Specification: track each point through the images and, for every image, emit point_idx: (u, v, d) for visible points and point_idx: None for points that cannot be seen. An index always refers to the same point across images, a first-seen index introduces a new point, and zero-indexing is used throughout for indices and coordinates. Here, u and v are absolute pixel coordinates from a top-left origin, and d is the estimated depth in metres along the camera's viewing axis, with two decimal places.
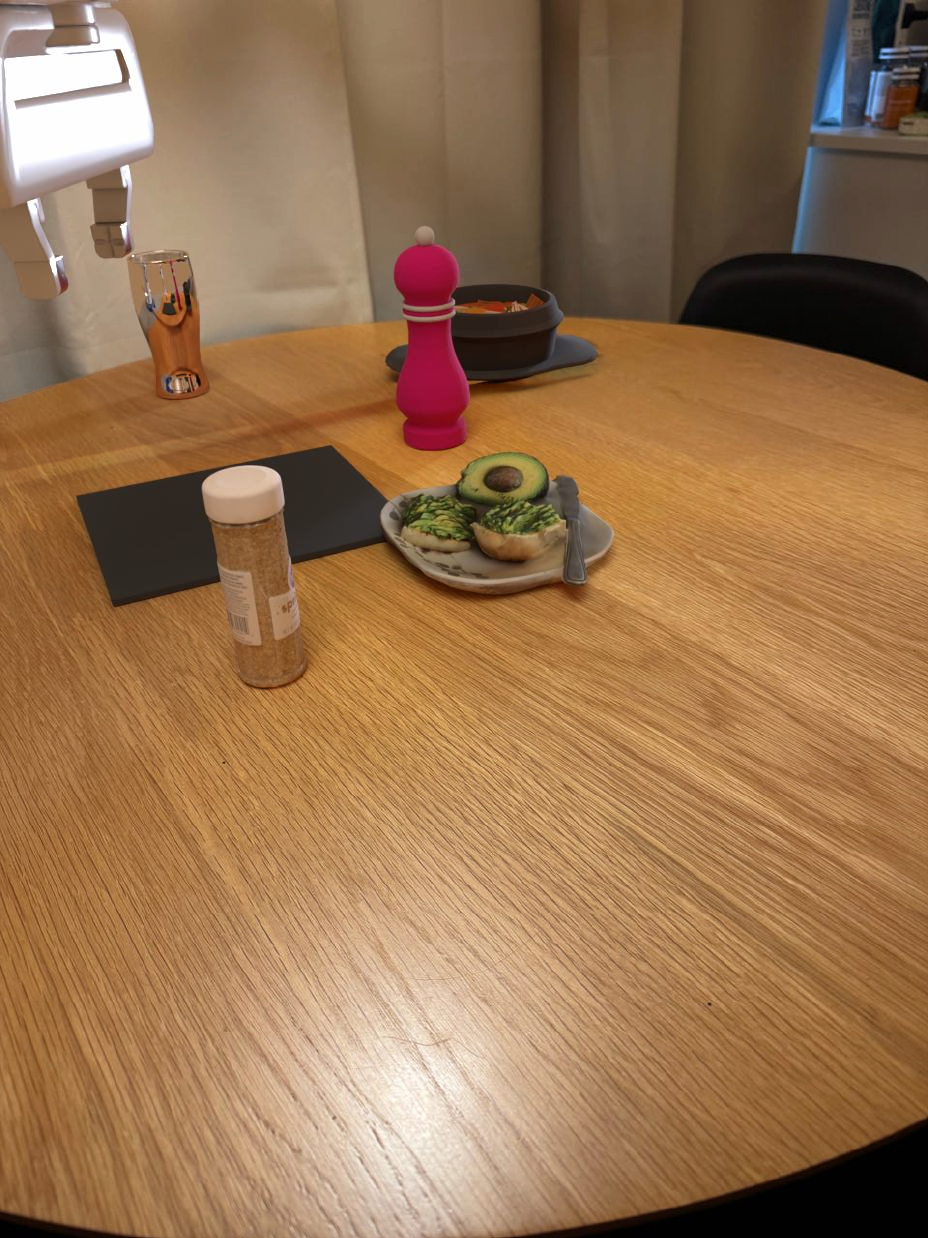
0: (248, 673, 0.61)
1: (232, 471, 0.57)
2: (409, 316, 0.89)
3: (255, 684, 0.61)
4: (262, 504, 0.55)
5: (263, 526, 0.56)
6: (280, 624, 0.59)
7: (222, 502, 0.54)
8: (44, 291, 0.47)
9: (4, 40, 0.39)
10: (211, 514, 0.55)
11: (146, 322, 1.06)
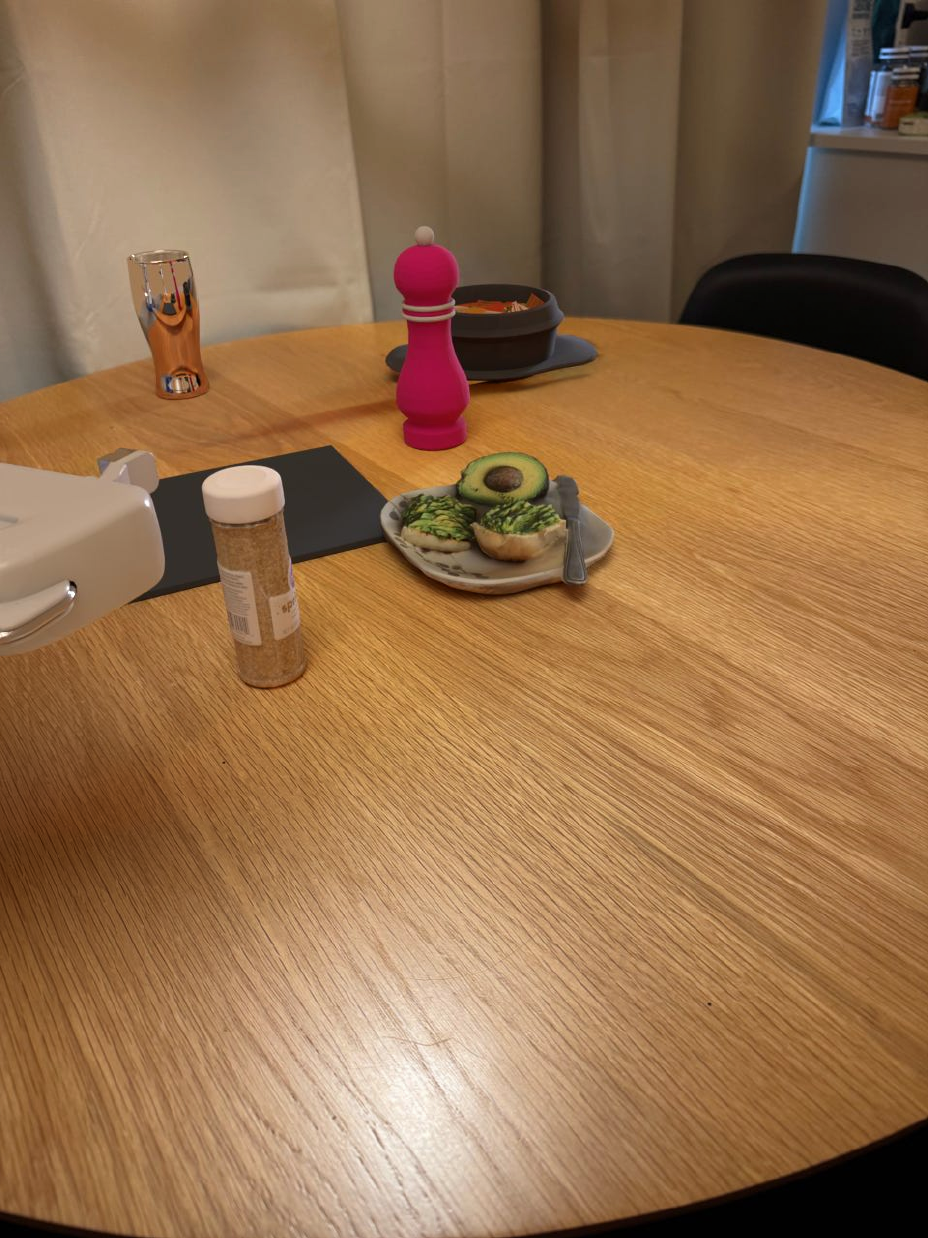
0: (248, 673, 0.61)
1: (232, 471, 0.57)
2: (409, 316, 0.89)
3: (255, 684, 0.61)
4: (262, 504, 0.55)
5: (263, 526, 0.56)
6: (280, 624, 0.59)
7: (223, 502, 0.54)
8: None
9: None
10: (211, 514, 0.55)
11: (146, 322, 1.06)
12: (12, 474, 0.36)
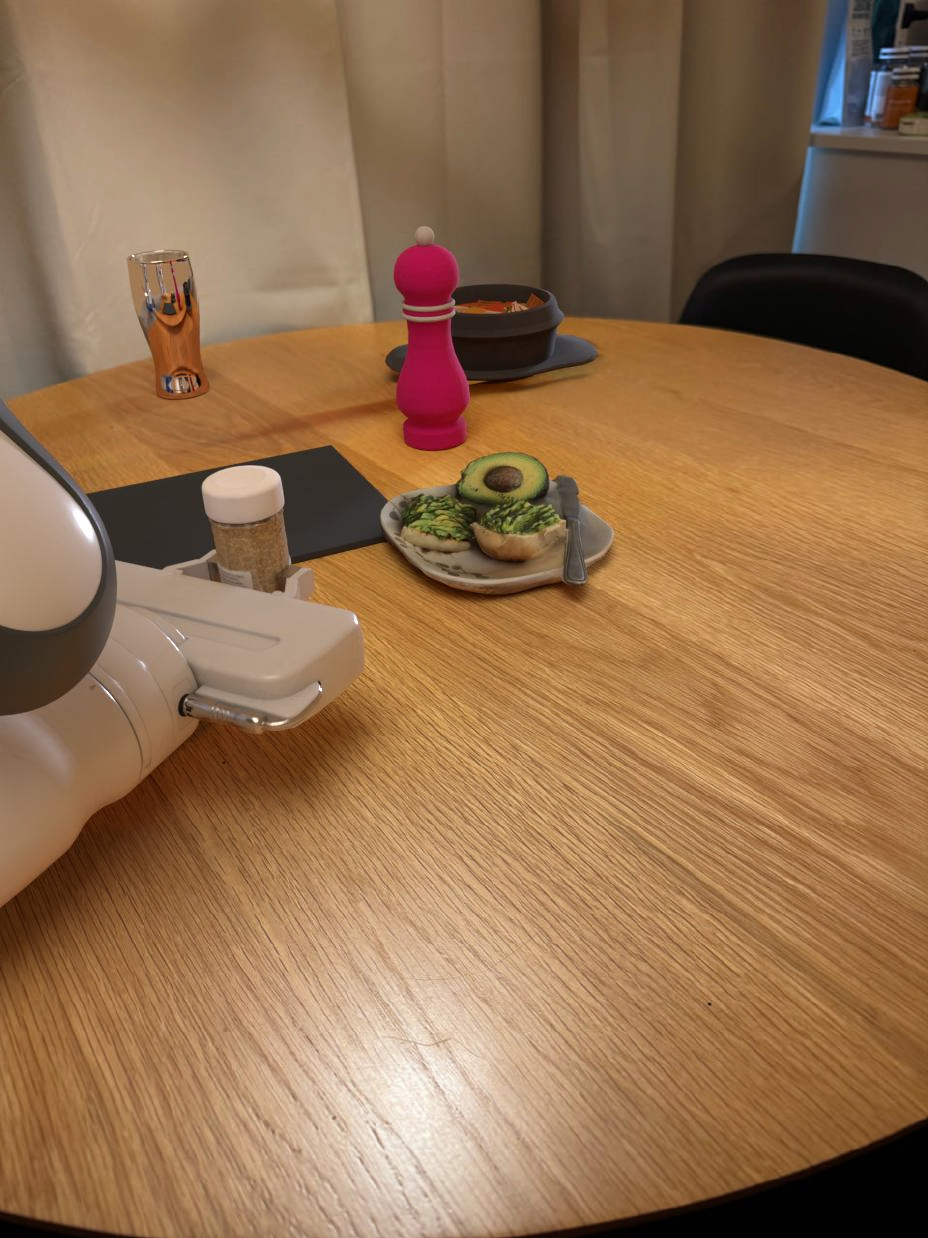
0: None
1: (232, 471, 0.57)
2: (409, 316, 0.89)
3: None
4: (262, 504, 0.55)
5: (263, 526, 0.56)
6: None
7: (222, 502, 0.54)
8: None
9: None
10: (211, 514, 0.55)
11: (146, 322, 1.06)
12: (259, 599, 0.53)
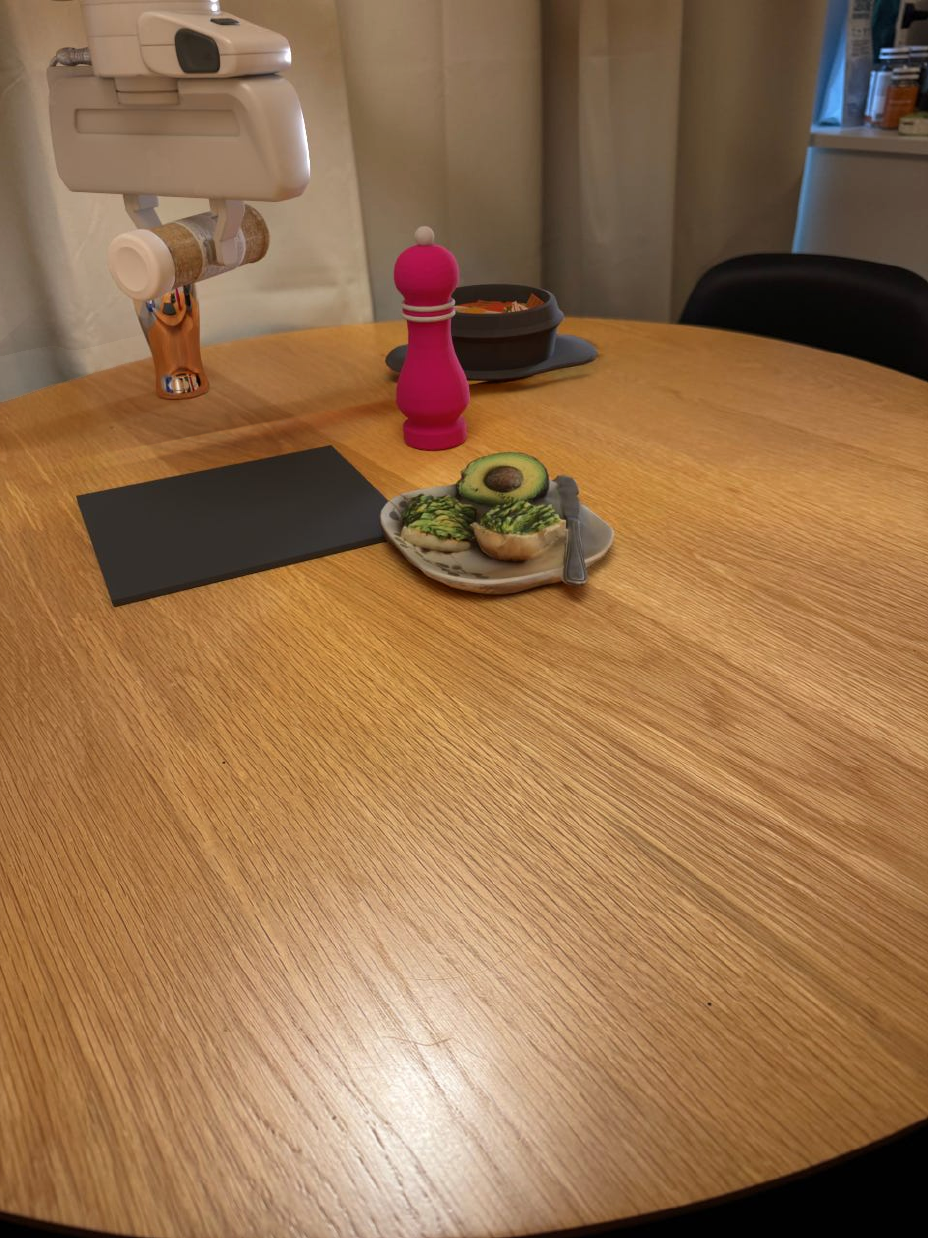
0: None
1: (145, 279, 0.67)
2: (409, 316, 0.89)
3: None
4: None
5: None
6: None
7: (126, 232, 0.66)
8: (232, 258, 0.71)
9: None
10: (148, 232, 0.66)
11: (146, 322, 1.06)
12: (119, 177, 0.69)
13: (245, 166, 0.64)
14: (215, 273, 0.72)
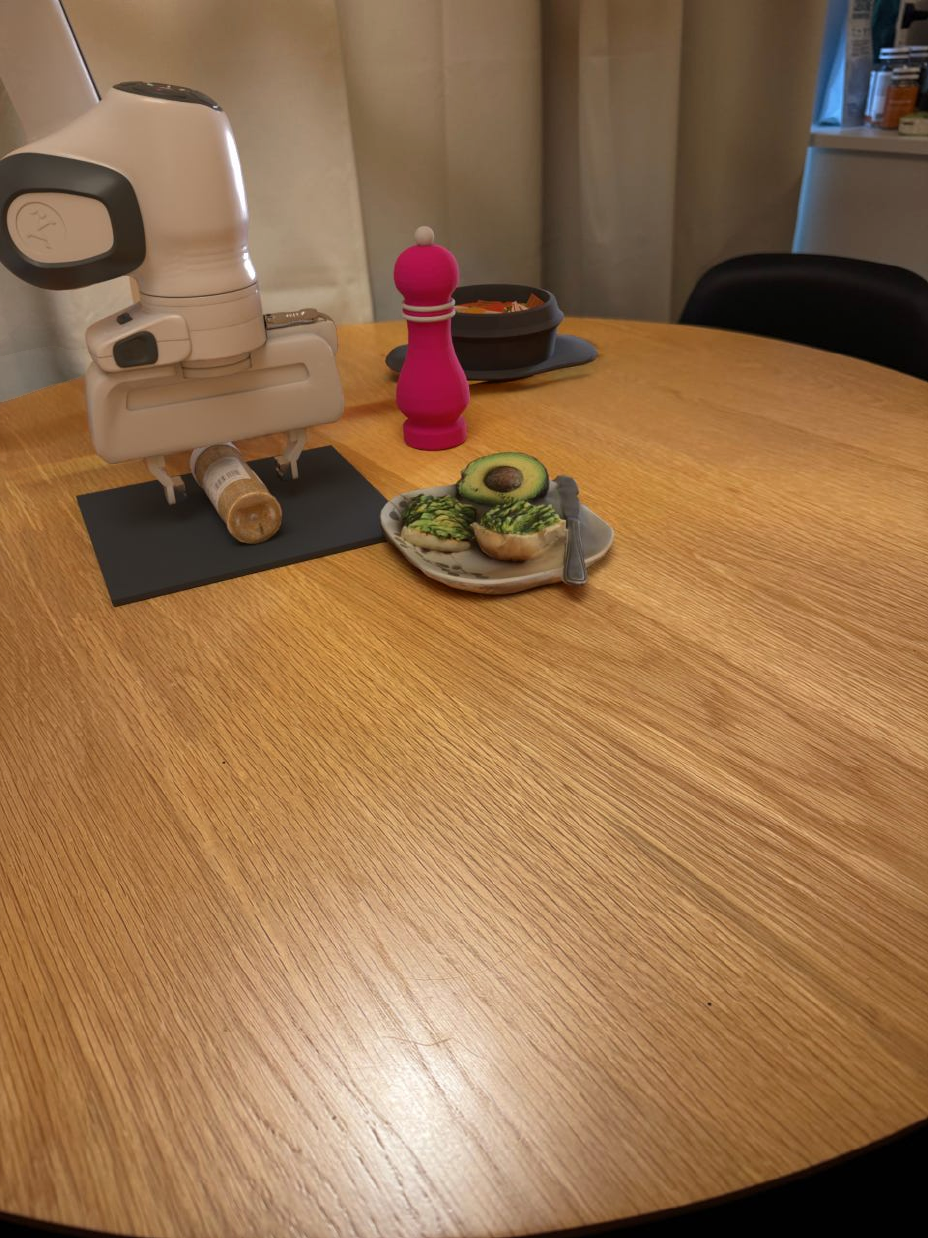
0: (242, 491, 0.75)
1: None
2: (409, 316, 0.89)
3: (250, 491, 0.75)
4: None
5: (239, 454, 0.84)
6: None
7: None
8: (168, 499, 0.79)
9: (110, 388, 0.71)
10: None
11: None
12: None
13: None
14: None
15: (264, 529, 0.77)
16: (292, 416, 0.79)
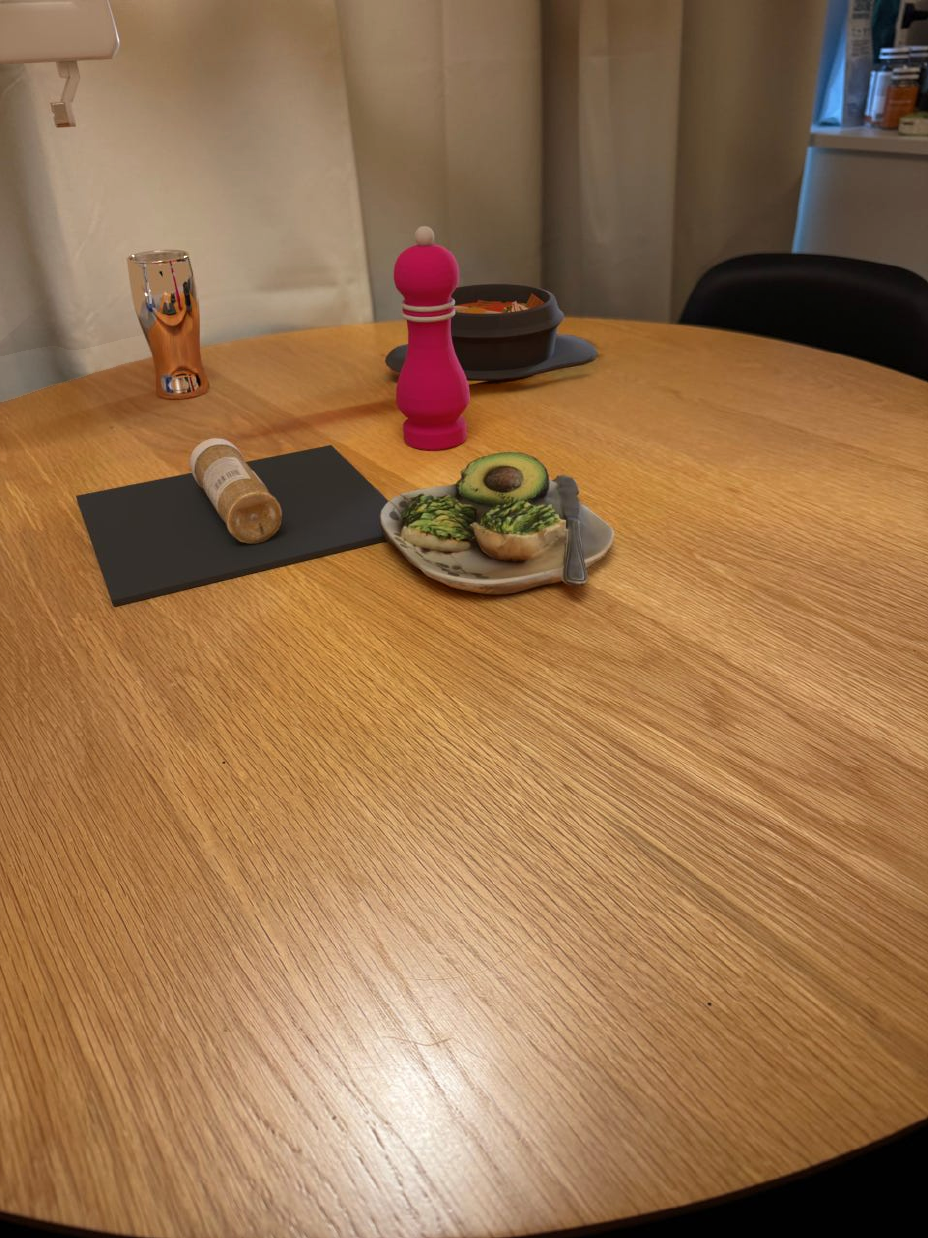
0: (242, 491, 0.75)
1: None
2: (409, 316, 0.89)
3: (250, 491, 0.75)
4: None
5: (239, 454, 0.84)
6: None
7: (213, 438, 0.85)
8: None
9: None
10: (204, 446, 0.84)
11: (146, 322, 1.06)
12: None
13: None
14: None
15: (264, 529, 0.77)
16: (58, 42, 0.76)
